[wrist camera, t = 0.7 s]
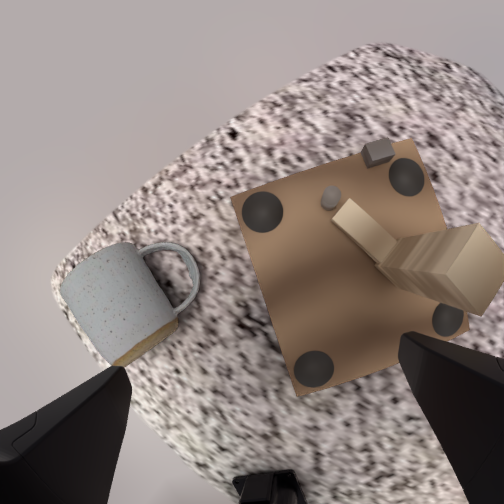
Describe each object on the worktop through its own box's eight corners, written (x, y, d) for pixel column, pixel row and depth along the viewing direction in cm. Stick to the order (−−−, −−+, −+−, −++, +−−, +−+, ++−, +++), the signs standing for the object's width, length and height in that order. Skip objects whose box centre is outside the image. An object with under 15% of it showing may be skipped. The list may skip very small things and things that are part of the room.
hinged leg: (327, 223, 22) (355, 187, 10) (349, 198, 22) (394, 138, 10) (397, 288, 21) (481, 316, 9) (417, 262, 21) (512, 266, 9)
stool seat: (463, 326, 21) (488, 338, 17) (297, 390, 23) (295, 415, 19) (407, 143, 22) (424, 123, 18) (233, 199, 25) (219, 188, 20)
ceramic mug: (143, 359, 26) (96, 386, 18) (97, 290, 27) (43, 297, 19) (226, 294, 25) (195, 309, 17) (170, 219, 26) (124, 205, 18)
